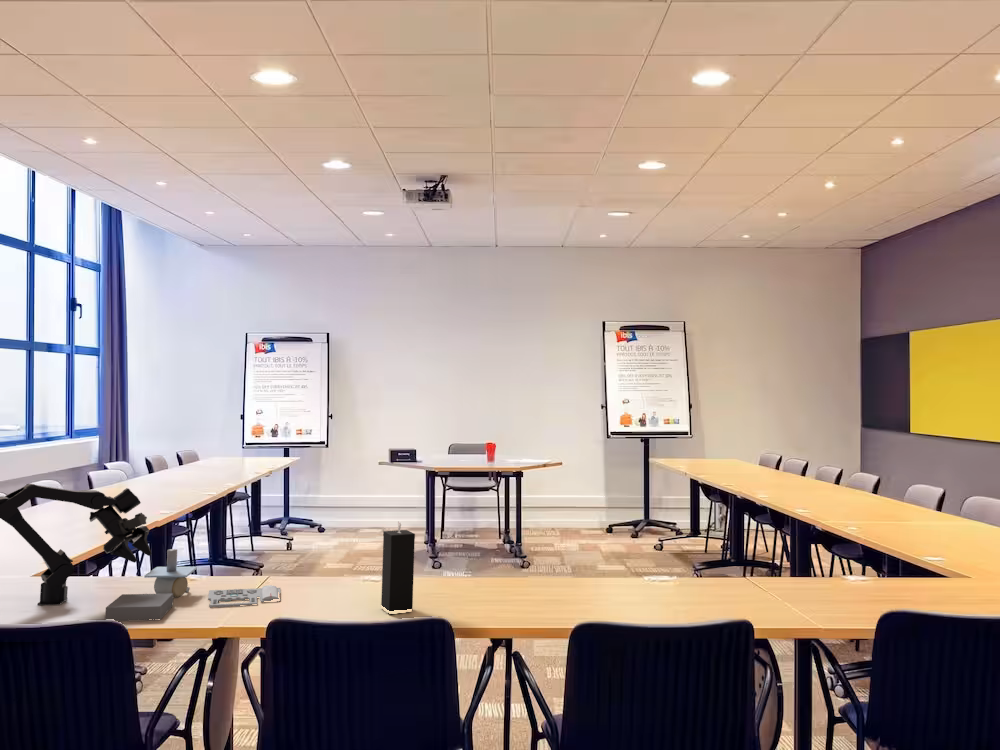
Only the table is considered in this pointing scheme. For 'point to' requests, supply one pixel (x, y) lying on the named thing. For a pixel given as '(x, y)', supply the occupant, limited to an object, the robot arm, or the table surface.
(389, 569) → the black pillar candle
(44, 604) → the robot arm
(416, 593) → the table surface
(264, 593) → the office telephone
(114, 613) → the gray square slab
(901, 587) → the table surface
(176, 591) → the ceramic mug
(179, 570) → the square plate with knob
